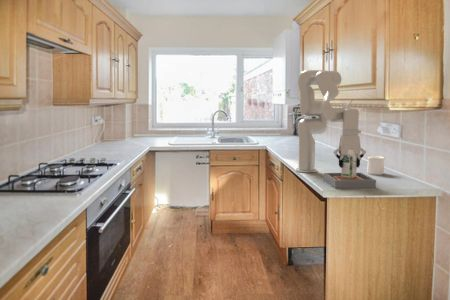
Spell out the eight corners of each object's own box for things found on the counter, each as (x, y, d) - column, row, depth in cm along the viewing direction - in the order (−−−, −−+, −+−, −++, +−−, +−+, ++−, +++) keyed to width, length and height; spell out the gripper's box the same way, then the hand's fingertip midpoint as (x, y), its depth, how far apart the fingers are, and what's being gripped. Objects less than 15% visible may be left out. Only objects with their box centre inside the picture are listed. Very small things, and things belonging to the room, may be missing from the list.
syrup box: (340, 176, 210) (341, 148, 208) (346, 175, 214) (347, 147, 212) (351, 178, 206) (352, 149, 204) (356, 176, 210) (357, 148, 208)
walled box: (324, 180, 220) (324, 172, 219) (360, 179, 220) (361, 172, 220) (335, 188, 200) (335, 180, 199) (375, 187, 201) (375, 179, 200)
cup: (370, 175, 234) (370, 158, 232) (363, 172, 244) (364, 155, 242) (386, 175, 234) (387, 158, 233) (379, 171, 244) (380, 155, 243)
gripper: (364, 132, 211) (363, 165, 213) (331, 132, 210) (330, 166, 213) (370, 133, 203) (368, 168, 206) (335, 133, 203) (334, 168, 205)
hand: (349, 167), depth 209 cm, fingers closed on syrup box, 7 cm apart
